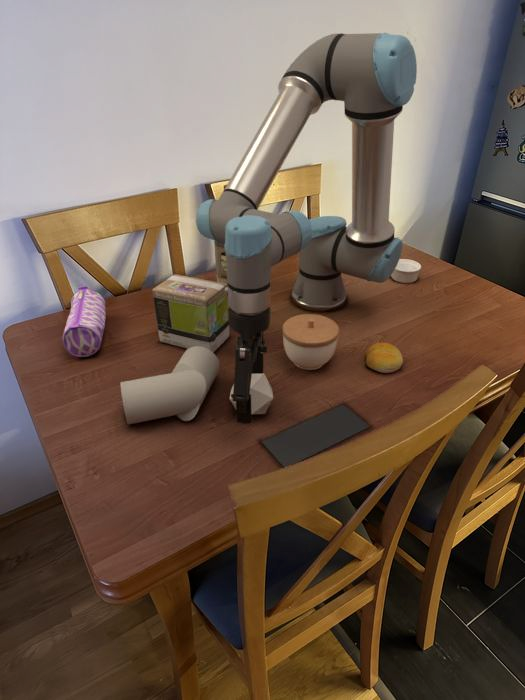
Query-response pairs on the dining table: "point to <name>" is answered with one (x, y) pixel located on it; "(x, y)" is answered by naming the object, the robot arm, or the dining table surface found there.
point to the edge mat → (314, 435)
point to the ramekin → (406, 271)
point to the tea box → (191, 312)
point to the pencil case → (85, 323)
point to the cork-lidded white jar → (310, 340)
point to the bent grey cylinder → (172, 389)
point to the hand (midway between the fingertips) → (250, 399)
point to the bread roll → (384, 358)
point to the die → (258, 394)
